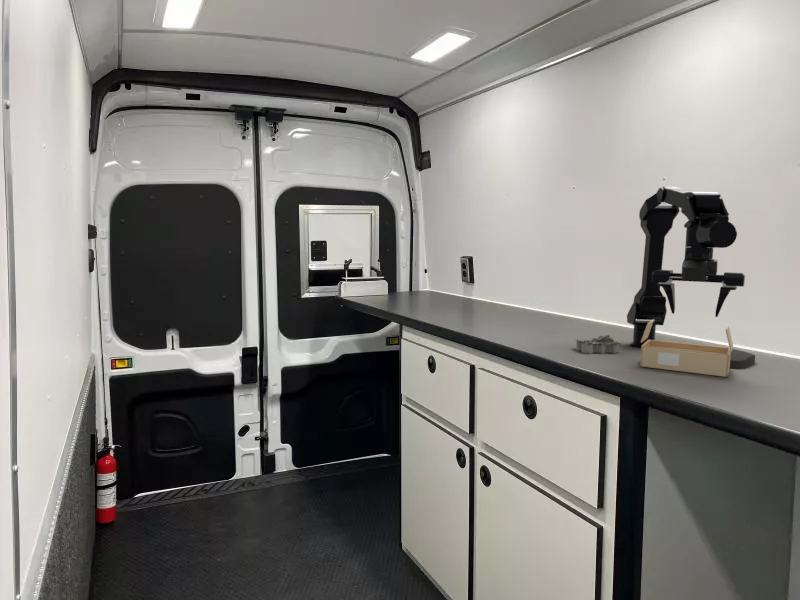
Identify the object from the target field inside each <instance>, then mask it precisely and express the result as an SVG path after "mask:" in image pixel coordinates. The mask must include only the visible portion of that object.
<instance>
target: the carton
mask: <svg viewBox="0 0 800 600" xmlns="http://www.w3.org/2000/svg"><path fill="white" fill-rule="evenodd" d="M730 357H731V352H730V348H729V347H727V346H717V345H716V346H715V345H708V344H707V345H706V344H705V345H704V344H695V343H694V344H693V343H686V342H685V343H684V342H674V341H665V340H664V341H663V340H656V339H655V340H647V341H646V342H645V343H644V344H643V345H642V346H641V347H640V362H639V363H640V365H639V366H640V367H641V368H650V369H656V370H658V369H659V370H667V371H674V372H682V373H690V374H698V375H708V376H714V377H715V376H716V377H723V378H728V377H729V374H730V369H731V368H730Z"/></svg>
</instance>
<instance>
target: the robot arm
mask: <svg viewBox="0 0 800 600" xmlns="http://www.w3.org/2000/svg"><path fill="white" fill-rule="evenodd" d="M656 191H657V192H656V193H654V194H652V195H651V196H650V197H648V198H646V200H645V201H644V202H643V204H642V206H641V207H640V208H639V216H638V217H639V221H640V228H641V230H642V231H643V233H644V235H645V244H644V254H643V263H642V265H643V266H642V276H641V285H640V286H641V287H640V289H639V290H638V291H637V293H636V294H635V295H634V297H633V302H632V304H631V306H630V308H629V311H628V312H627V314H626V322H627V324H631V325H633V335H632V341H631V342H630V343H629V346H631V347H640V348H641V346H642V345H643V344H644V343H645V342H646V341H647V340H656V329H657V327H656V326H664V323H665V321H666V315H667V306H666V305H667V304H666V303H667V300H668V304H669V307H670V311H671V314H675V310H676V296H675V295H676V294H675V289H676V288H675V283H674V282H675V281H676V282H678V281H679V282H699V283H720V284H721V286H720V288H719V289H720V290H719V295H718V299H717V303H716V308H715V318H718V317H719V314H720V311H721V310H722V307H723V305H724V303H725V301H726V299H727V297H728V296H729V294H730V293H731V291H736V290H737V288H738V287H744V286H745V279H746V275H745V274H744V273H743V272H731V271H729V272H728V271H727V272H725V271H724V272H723V274H717V273H718V266H719V265H718V264H719V263H718V259H714V258H713V257H714V249H715V248H716V249H718V248H719V249H721V248H722V249H724V248H728V247H730V246H732V245H733V244H734V243H735V242H736V240H737V237H738V232H737V228H736V226H735V225H734V224H733V223H731V222H730V217H729V216H730V214H729V212H728V210H727V207H726V206H725V202H724V200H723V198H722V195H721V194H720V193H719V192H718V191H690V190H686V189H683V188H681V187H679V186H662V187H659V188H658V189H657V190H656ZM680 209H681V210H680ZM679 213H682V214H683V215H684V216H685V217H686V219H687V221H685V223H684V225H683V228H686V233H685V234H686V235H685V245H684V246H685V247H684V248H685V249H684V260H682V261H683V262H682V264H681V265H682V266H681V272H680V273H679V272H677V273H676V272H674V269H663V260H664V248H665V239H666V236H667V234H669V232H670V230H672V228H673V225H674V220H675V219H676V217H677V216H678V214H679ZM661 287H662V289H663V291H664V293H665V295H666V296H664V295H663V293H662V291H661ZM653 319H654V322H653V324H652V327H651V330H650V333H649V335H648V338H647V339H646V340H644V341H643V342H641V340H642V337H643V334H644V331H645V329H646V326H647V323H649V322H650V321H651V320H653Z"/></svg>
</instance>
